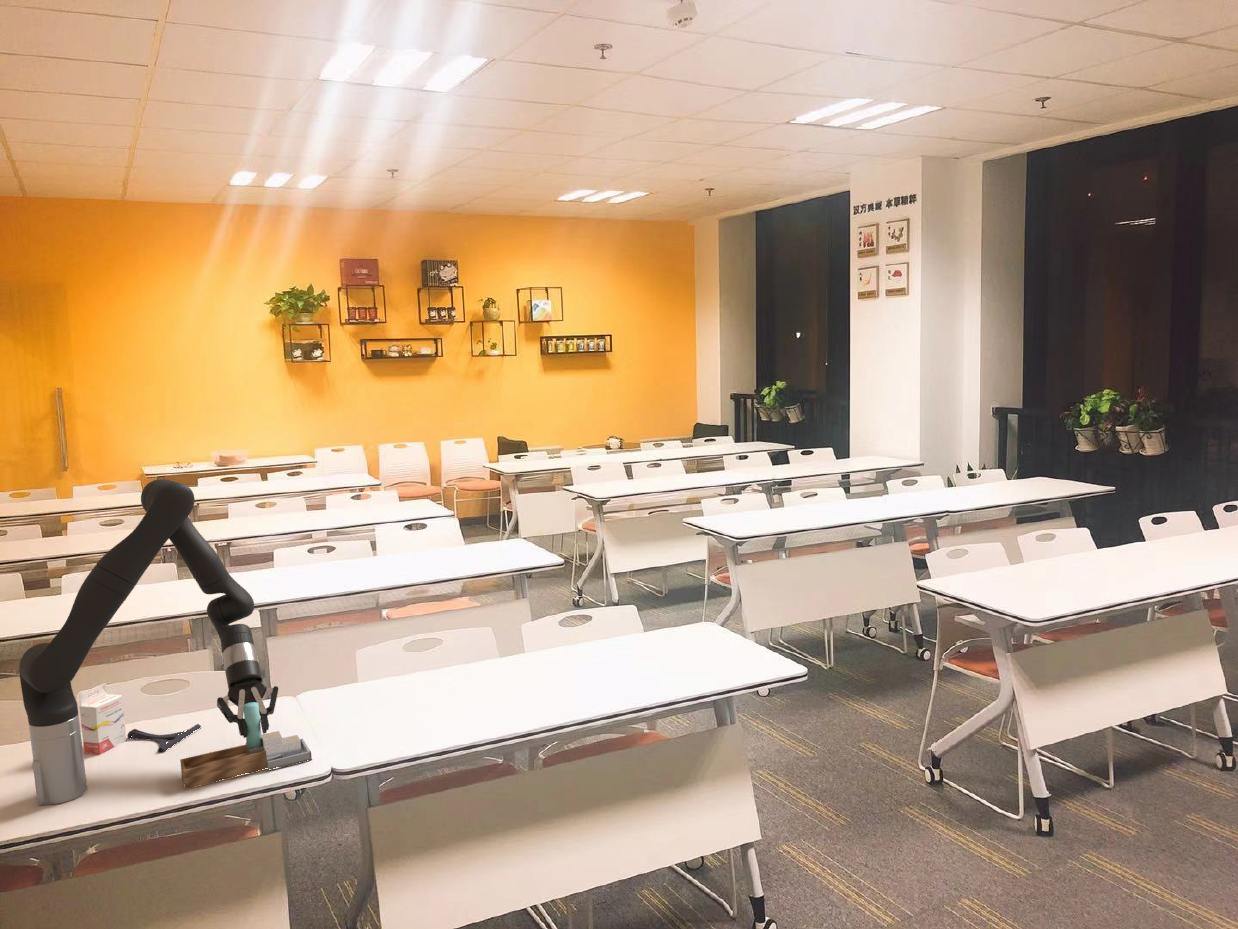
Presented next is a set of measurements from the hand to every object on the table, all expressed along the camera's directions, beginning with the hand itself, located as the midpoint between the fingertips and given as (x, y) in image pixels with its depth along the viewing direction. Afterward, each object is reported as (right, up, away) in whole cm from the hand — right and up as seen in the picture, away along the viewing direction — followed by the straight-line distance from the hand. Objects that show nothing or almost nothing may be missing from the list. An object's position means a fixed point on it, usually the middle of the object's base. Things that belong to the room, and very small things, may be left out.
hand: (255, 733), depth 213 cm
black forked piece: (-32, -8, +21) cm, 39 cm away
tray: (+5, -7, +6) cm, 11 cm away
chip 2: (+4, -5, +5) cm, 8 cm away
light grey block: (+2, -5, +4) cm, 7 cm away
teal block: (-1, -6, +2) cm, 6 cm away
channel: (-7, -9, -1) cm, 11 cm away
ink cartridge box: (-43, -8, +17) cm, 47 cm away
